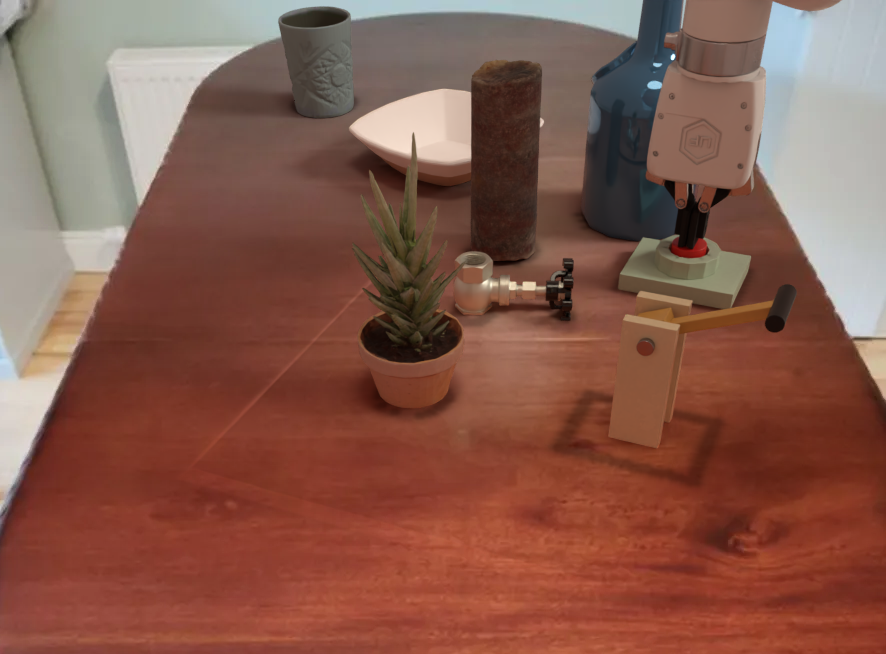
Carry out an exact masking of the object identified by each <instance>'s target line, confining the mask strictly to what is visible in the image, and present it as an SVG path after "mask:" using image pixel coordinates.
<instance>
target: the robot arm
mask: <svg viewBox="0 0 886 654" xmlns="http://www.w3.org/2000/svg"><path fill="white" fill-rule="evenodd" d="M842 1H843V0H685V3H684V4H685V5H684V10H683V11H684V12H683V17H682V24H681V29H680V30H679V32H677V31H675V33H670V32H667V33H666V36H665V40H664V48H668V49H671V50H672V51H675V55H676V60H675V61H673V62H672V63H671V64H670V65H669V66H668V68H667V71H666V74H665V77H664V80H663V83H662V87H661V91H660V95H659V99H658V103H657V108H656V112H655V117H654V122H653V128H652V133H651V138H650V143H649V149H648V156H647V171H646V174H645V177H646V179H647V180H649V181H651V182H654V183H656V184H658V185H661V186H665V188H666V189H667V191H668V192H669V193H670V195H671V196H672V197H673V199H674V200H675V205H676V207H677V208H678V213H677V219H676V225H675V232H674V234H675V235H679V241H678V247H683V246H686V247H688V249H693V248H694V246H695V245H696V243H697V241H698V239H699V238H700V239H703V238H704V237H705V236H706V233H707V229H708V225H709V219H710V218H709V217H710V213H711V209H712V208H713V207H714V206H717V204H719V203H721V202H722V201H723V200H724V199H727V197H733V198H734V197H744V196H745V197H746V196H749V195H750V194H752V191H753V189H754V187H755V179H754V177H755V176H754V168H755V166H756V163H757V161H758V156H759V151H760V145H761V139H762V130H763V125H764V115H765V107H766V94H767V93H766V92H767V70H766V68H765V67H764V66H761V64H762V58H763V54H764V48H765V44H766V39H767V38H766V37H767V32H768V30H769V23H770V18H771V12H772V6H773V4H774V3H776V4H778V5H781V6H784V7H788V8H791V9H795V10H798V11H803V12H817V11H819V12H820V11H822V10H823V11H824V10H826V9H830V8H831V7H834V6H836V5H837V4H839V3H841V2H842ZM773 2H774V3H773ZM693 184H696V185H699V186H703V190H702V193H701V196H700V197H699V199H698V200H697V199H696V198H695V196H694V195H693ZM695 200H696V201H695ZM686 244H687V245H686Z"/></svg>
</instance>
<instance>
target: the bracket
mask: <svg viewBox="0 0 886 654" xmlns="http://www.w3.org/2000/svg"><path fill="white" fill-rule="evenodd" d="M635 298H636V299H635V306H634V312H633V313H634V314H628V313H626V314H625V315H624V317H623V318H622V321H621V329H620V338H619V345H618V346H619V347H618V354H617V361H616V362H617V363H616V370H615V376H614V377H615V378H614V387H613V395H612V402H611V410H610V419H609V428H608V438H611V439H615V440H620V441H624V442H628V443H631V444H637V445H640V446H645V447H649V448H653V449H658V448H659V447H660V444H661V441H662V435H663V429H664V423H667V424H670V423H671V422H672V419H673V416H674V410H675V404H676V400H677V399H676V397H677V391H678V388H679V382H680V376H681V369H682V365H683V359H684V353H685V348H686V341H687V335H688V333H684V334H679V329H680V325H679V324H674V323H669V322H664V321H659V320H654V319H649V318H644V317H639V316H638V314H639V313H644V312H649V311H655V310H660V309H666V308H671V309H672V312H673V316H674V318H678V317H684V316H689V315H691V312H692V308H693V307H692V306H693V303H692V302H693V301H692V300H687V299H682V298H676V297H671V296H666V295H660V294H655V293H650V292H644V291H640V292H639V293H637V295H636V296H635Z"/></svg>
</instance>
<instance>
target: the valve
mask: <svg viewBox="0 0 886 654" xmlns="http://www.w3.org/2000/svg"><path fill="white" fill-rule="evenodd" d="M465 261H466V262H465ZM463 262H465V264H464V266H463V267H462V269H461V270H460V271H459V272H458V273H457V275H456V276H455V279H454V281H453V285H452V295H453V298H454V301H455V304H454V307H455V308H456V309H457V310H458V311H459V312H460V313H461V314H462V316H483V315H484V314H485V313H487V312H488V311H489V310H491V308H493V304H492V303H498V305H499V306H510V300H516V299H517V298H518V297H521V299H522V300H536V297H544V298H545V299H544V300H545V302H548V306H549V307H550V309H551V310H561V312H562V314H563V315H564V316H562V315H561V316H560V321H561V322H564V321H565V322H571V317H572V314H571V313H572V311H573V299H572V291H573V289H574V282H575V279H574V276H573V272H574V270H575V269H574V266H575V261H574V259H573V258H572V257H563V258H562V263H561V265H562V267H563V269H564V270H562V269H561V270H556V271H554V272H552V274H551V275H550V277H549V280H545V285H537V282H536V281H522V284H518V283H517V281H511V275H510V274H499V277H497V278H496V277H492V276H494V275H493V274H494V273H493V272H494V261H493V260H492V259H491V258H490V257H489V256H488V255H487V254H485V253H482V252H476V251H472V250H471V251H467V252H463V253H461V254H459V255H458V256H456V258H455V259H454V271H455V270H456V269H457V268H458V267H459V266H460V265H461V264H462V263H463ZM558 278H560V280H557V279H558ZM555 302H561V304H556V303H555Z"/></svg>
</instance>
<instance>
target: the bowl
mask: <svg viewBox="0 0 886 654" xmlns="http://www.w3.org/2000/svg"><path fill="white" fill-rule="evenodd" d="M544 124H545V120H544V119H543V118H542V117H540V129H541V128H542V127H543V126H544ZM348 131H349V132H350V134H352V135H353V136H354V137H355V138H356V139H357V140H358V141H360V143H362V144H363V145H364V146H365V147H367V148H368V149H369V150H370V151H371V152H373V153H374V154H375V155H377V156H378V157H379V158H380V159H381V160H383V161H384V162H385V163H386V164H388V166H390V167H391V168H392V169H394V170H396V171H398V172H399V173H400V174H403V175H404V176H406V174H407V168H408V166H409V167H410V170H411V155H412V134H413V132H414V135H415V142H416V152H417V171H418V175H417V181H421V182H423V183H428V184H432V185H437V186H442V187H453V186H458V185H463V184H464V183H468V182H471V91H467V90H460V89H451V88H439V89H434V90H428V91H423V92H419V93H415V94H413V95H409V96H407V97H404V98H400V99H398V100H394V101H392V102H388V103H386V104H384V105H382V106H380V107H378V108H376V109H373V110H372V111H370V112H367V113H365V114H364V115H362V116H361V117H359V118H358V119H356V120H355V121H354V122H353V123H352V124H350V126H349V127H348Z"/></svg>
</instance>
